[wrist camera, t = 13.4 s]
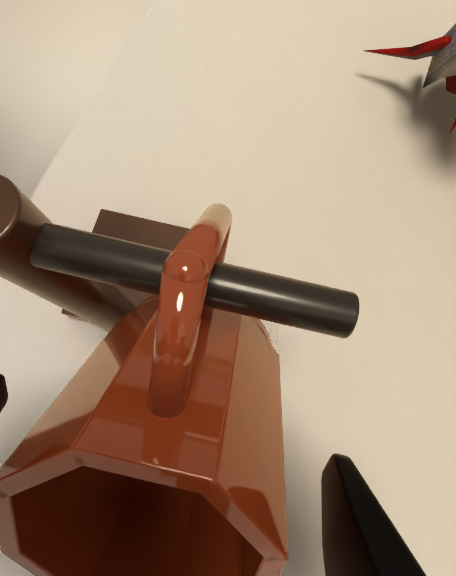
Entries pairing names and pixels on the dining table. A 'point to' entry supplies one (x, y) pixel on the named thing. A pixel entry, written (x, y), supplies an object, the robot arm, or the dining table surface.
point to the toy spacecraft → (433, 59)
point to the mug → (159, 443)
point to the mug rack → (145, 271)
